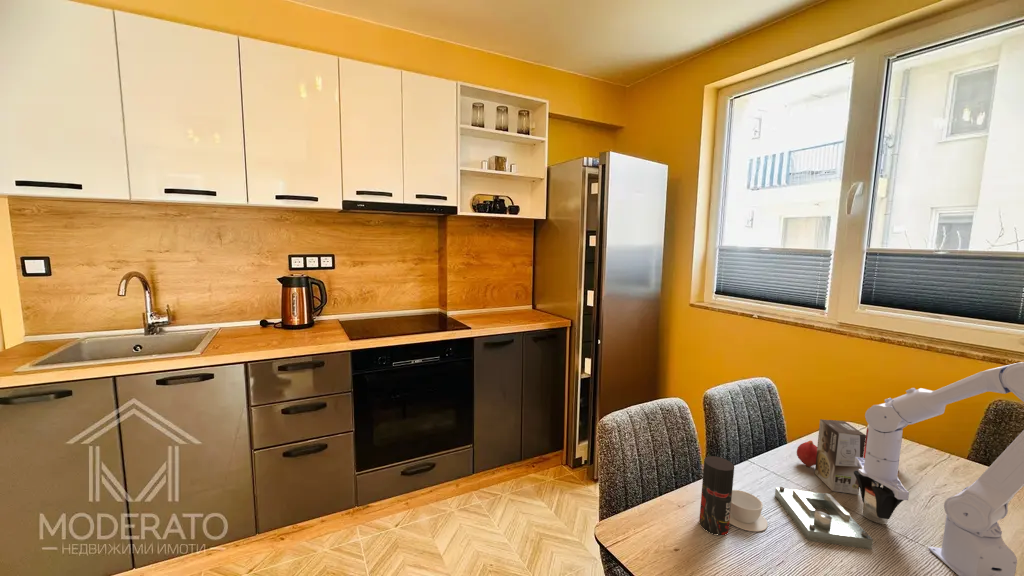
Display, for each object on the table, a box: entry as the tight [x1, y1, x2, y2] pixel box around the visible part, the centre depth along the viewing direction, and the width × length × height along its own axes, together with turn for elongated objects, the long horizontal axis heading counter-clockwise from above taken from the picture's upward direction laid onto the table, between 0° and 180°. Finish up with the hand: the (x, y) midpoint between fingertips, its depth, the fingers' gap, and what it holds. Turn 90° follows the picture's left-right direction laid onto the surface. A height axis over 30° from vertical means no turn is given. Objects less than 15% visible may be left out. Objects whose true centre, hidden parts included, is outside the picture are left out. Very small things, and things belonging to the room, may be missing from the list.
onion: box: [796, 439, 817, 468], centre depth 117 cm, size 6×6×8 cm
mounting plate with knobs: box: [774, 486, 874, 550], centre depth 93 cm, size 16×12×4 cm
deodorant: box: [699, 455, 735, 536], centre depth 90 cm, size 6×6×15 cm
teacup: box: [729, 489, 769, 532], centre depth 94 cm, size 10×10×5 cm
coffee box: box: [814, 418, 866, 495], centre depth 108 cm, size 9×6×16 cm
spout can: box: [861, 481, 889, 525], centre depth 94 cm, size 4×4×8 cm
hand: (875, 510), depth 94 cm, fingers closed on spout can, 4 cm apart
